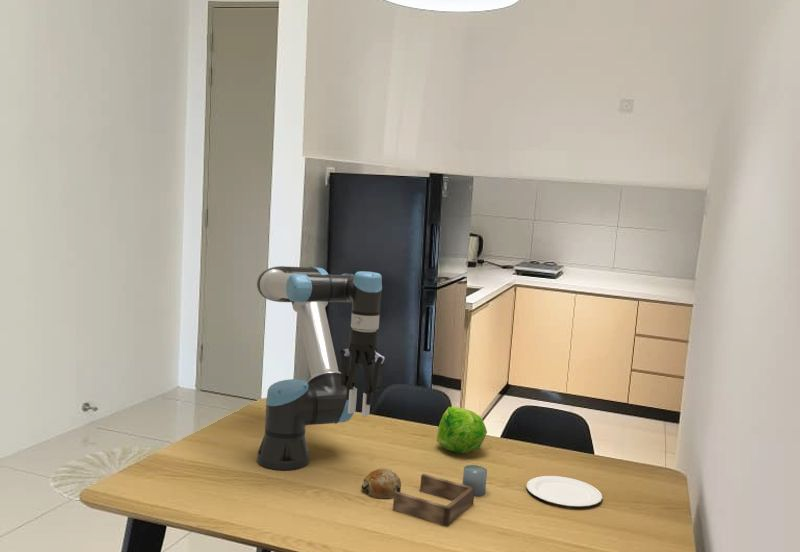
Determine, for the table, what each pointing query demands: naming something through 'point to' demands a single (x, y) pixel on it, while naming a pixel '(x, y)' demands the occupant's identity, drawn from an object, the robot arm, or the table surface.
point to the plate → (564, 491)
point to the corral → (432, 510)
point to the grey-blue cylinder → (475, 479)
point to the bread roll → (381, 483)
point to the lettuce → (461, 430)
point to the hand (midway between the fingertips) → (358, 413)
